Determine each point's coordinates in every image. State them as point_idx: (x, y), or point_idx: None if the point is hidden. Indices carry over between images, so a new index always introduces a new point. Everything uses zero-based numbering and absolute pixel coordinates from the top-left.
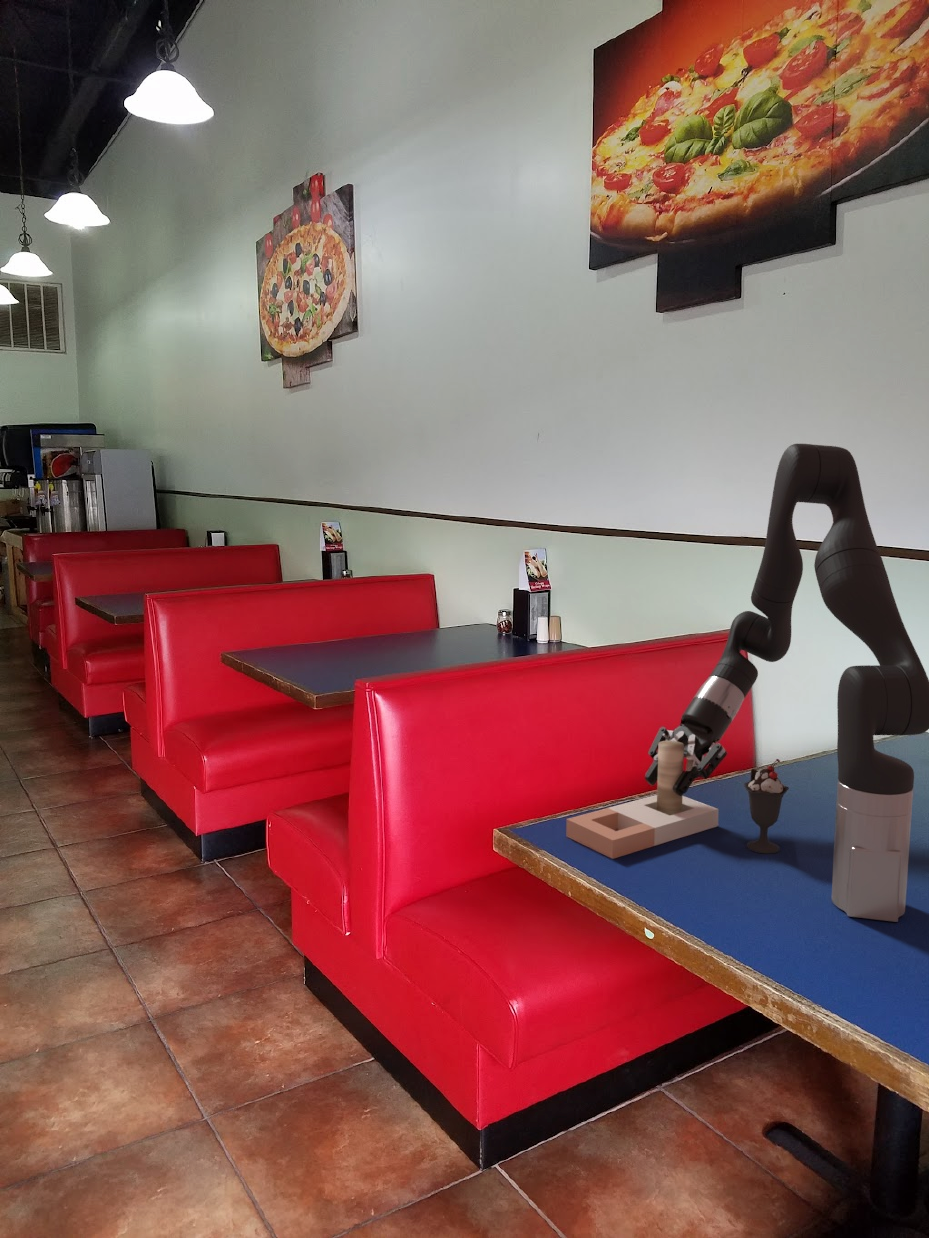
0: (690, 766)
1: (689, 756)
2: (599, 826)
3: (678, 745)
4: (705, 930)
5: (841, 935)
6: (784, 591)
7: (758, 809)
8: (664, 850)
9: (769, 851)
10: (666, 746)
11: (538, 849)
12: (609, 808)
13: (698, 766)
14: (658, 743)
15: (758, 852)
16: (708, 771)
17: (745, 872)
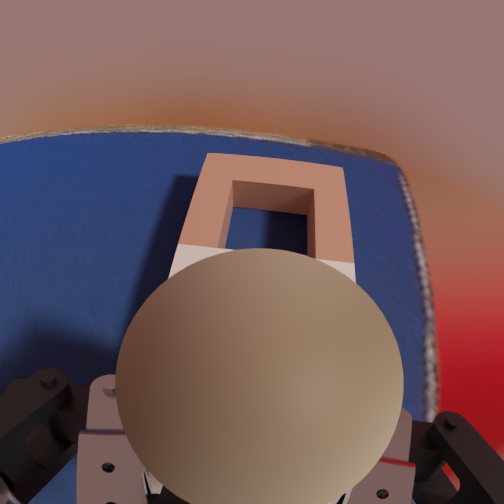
0: (104, 395)
1: (107, 430)
2: (273, 176)
3: (163, 389)
4: (47, 146)
5: None
6: None
7: None
8: (157, 264)
9: (7, 389)
10: (237, 266)
11: (314, 144)
12: (349, 264)
13: (48, 380)
14: (363, 292)
15: (20, 379)
16: (46, 437)
17: (19, 284)
